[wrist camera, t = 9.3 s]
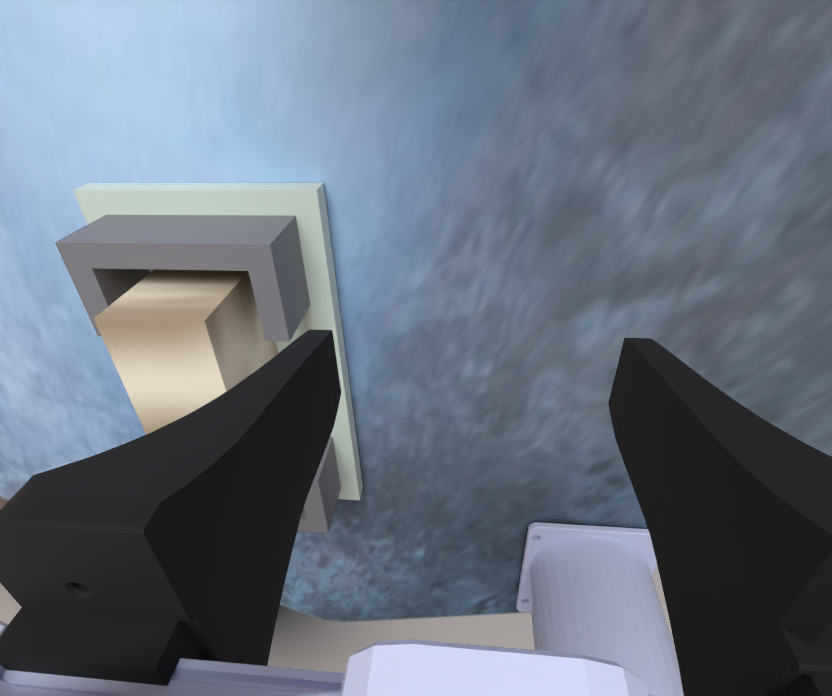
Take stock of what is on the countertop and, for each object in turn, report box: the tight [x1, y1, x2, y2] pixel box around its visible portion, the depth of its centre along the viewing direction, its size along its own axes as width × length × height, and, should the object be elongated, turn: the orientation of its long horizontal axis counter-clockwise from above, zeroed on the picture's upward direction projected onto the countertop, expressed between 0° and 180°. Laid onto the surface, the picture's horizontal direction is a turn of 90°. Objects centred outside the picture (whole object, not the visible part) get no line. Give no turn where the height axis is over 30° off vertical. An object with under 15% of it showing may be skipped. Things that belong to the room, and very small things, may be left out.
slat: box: [94, 269, 278, 435], centre depth 22 cm, size 12×4×5 cm, turn 2°
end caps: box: [55, 183, 363, 533], centre depth 24 cm, size 18×10×4 cm, turn 2°
